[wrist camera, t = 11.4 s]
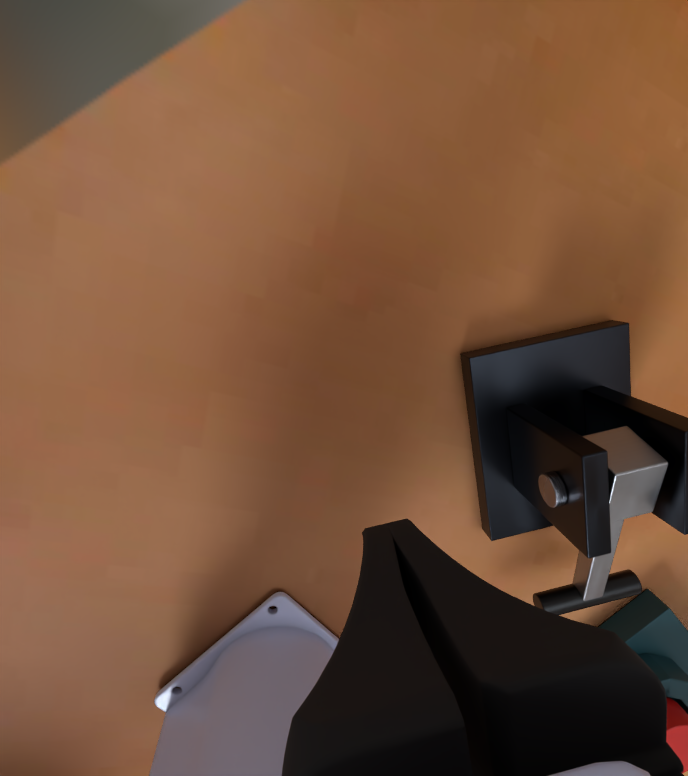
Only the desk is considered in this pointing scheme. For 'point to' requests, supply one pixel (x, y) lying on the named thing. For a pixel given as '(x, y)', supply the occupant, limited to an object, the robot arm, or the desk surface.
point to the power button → (677, 731)
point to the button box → (656, 641)
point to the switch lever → (612, 523)
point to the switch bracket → (563, 434)
